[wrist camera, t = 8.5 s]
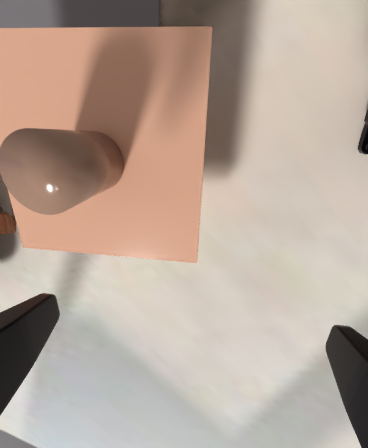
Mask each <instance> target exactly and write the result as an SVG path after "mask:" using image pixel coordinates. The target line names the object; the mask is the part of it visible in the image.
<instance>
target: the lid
mask: <svg viewBox="0 0 368 448" xmlns="http://www.w3.org/2000/svg"><path fill="white" fill-rule="evenodd" d="M211 45H212V26H202V27H77V28H0V174H1V177H2V179H3V182H4V184H5V186H6V187H7V189H8V193H9V197H10V201H11V204H12V208H13V212H14V215H15V219H16V223H17V227H18V230H19V234H20V238H21V242H22V245H23V248H35V249H46V250H57V251H68V252H79V253H91V254H102V255H113V256H124V257H135V258H147V259H158V260H169V261H180V262H192V263H197V258H198V243H199V228H200V213H201V198H202V182H203V167H204V152H205V137H206V121H207V106H208V91H209V76H210V61H211Z"/></svg>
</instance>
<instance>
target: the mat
mask: <svg viewBox="0 0 368 448" xmlns="http://www.w3.org/2000/svg"><path fill="white" fill-rule="evenodd" d="M77 27H160V0H0V28H77Z"/></svg>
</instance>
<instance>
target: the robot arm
mask: <svg viewBox="0 0 368 448" xmlns="http://www.w3.org/2000/svg"><path fill="white" fill-rule="evenodd" d="M364 121H365V126H364V129H363V132H362V136H361V139H360V142H359V145H358V150H359V152H360V153H362V154H368V149H367V150H366V145H367V144H368V110H367V113H366V116H365V120H364ZM59 315H60V312H59V308H58V303H57V299H56V296H55V295H53V294H46V293H42V294H39V295H37V296H35V297H33V298H31V299H28V300H26V301H24V302H22V303H20V304H18V305H16V306H13V307H11V308H9V309H7V310H5V311H3V312H1V313H0V415H1V414H2V412H3V411H4V409H5V408H6V406H7V405H8V403H9V402H10V400H11V399H12V397H13V396H14V394H15V393H16V391H17V390H18V388H19V387H20V385H21V384H22V382H23V380H24V379H25V377H26V376H27V374H28V373H29V371H30V370H31V368H32V367H33V365H34V363H35V361H36V360H37V358H38V356H39V354H40V353H41V351H42V349H43V347H44V345H45V343H46V342H47V340H48V338H49V336H50V334H51V332H52V331H53V329H54V327H55V325H56V323H57V321H58V319H59ZM326 353H327V356H328V359H329V362H330V365H331V368H332V371H333V374H334V377H335V380H336V383H337V386H338V389H339V392H340V395H341V398H342V401H343V404H344V406H345V409H346V412H347V414H348V417H349V419H350V421H351V424H352V426H353V428H354V431H355V433H356V435H357V438H358V440H359V442H360V445H361V447H362V448H368V339H366V338H365V337H364V336H362V335H361V334H360V333H358V332H357V331H355V330H354V329H353V328H351V327H349V326H342V325H334V326H333V327H332V329H331V332H330V334H329V337H328V340H327V342H326Z"/></svg>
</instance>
